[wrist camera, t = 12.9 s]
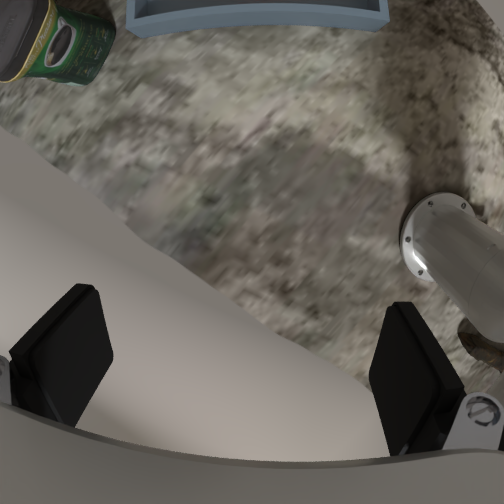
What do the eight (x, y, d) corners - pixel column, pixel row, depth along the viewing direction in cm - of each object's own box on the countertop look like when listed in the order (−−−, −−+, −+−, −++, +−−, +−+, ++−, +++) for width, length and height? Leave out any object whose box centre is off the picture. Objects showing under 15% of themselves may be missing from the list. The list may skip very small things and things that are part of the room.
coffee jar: (82, 14, 29) (-9, -22, 12) (126, 26, 30) (39, -20, 13) (51, 77, 33) (-49, 73, 15) (92, 93, 34) (-10, 89, 17)
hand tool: (509, 352, 47) (519, 365, 43) (496, 366, 48) (506, 380, 44) (466, 319, 44) (479, 334, 40) (451, 337, 46) (463, 353, 41)
